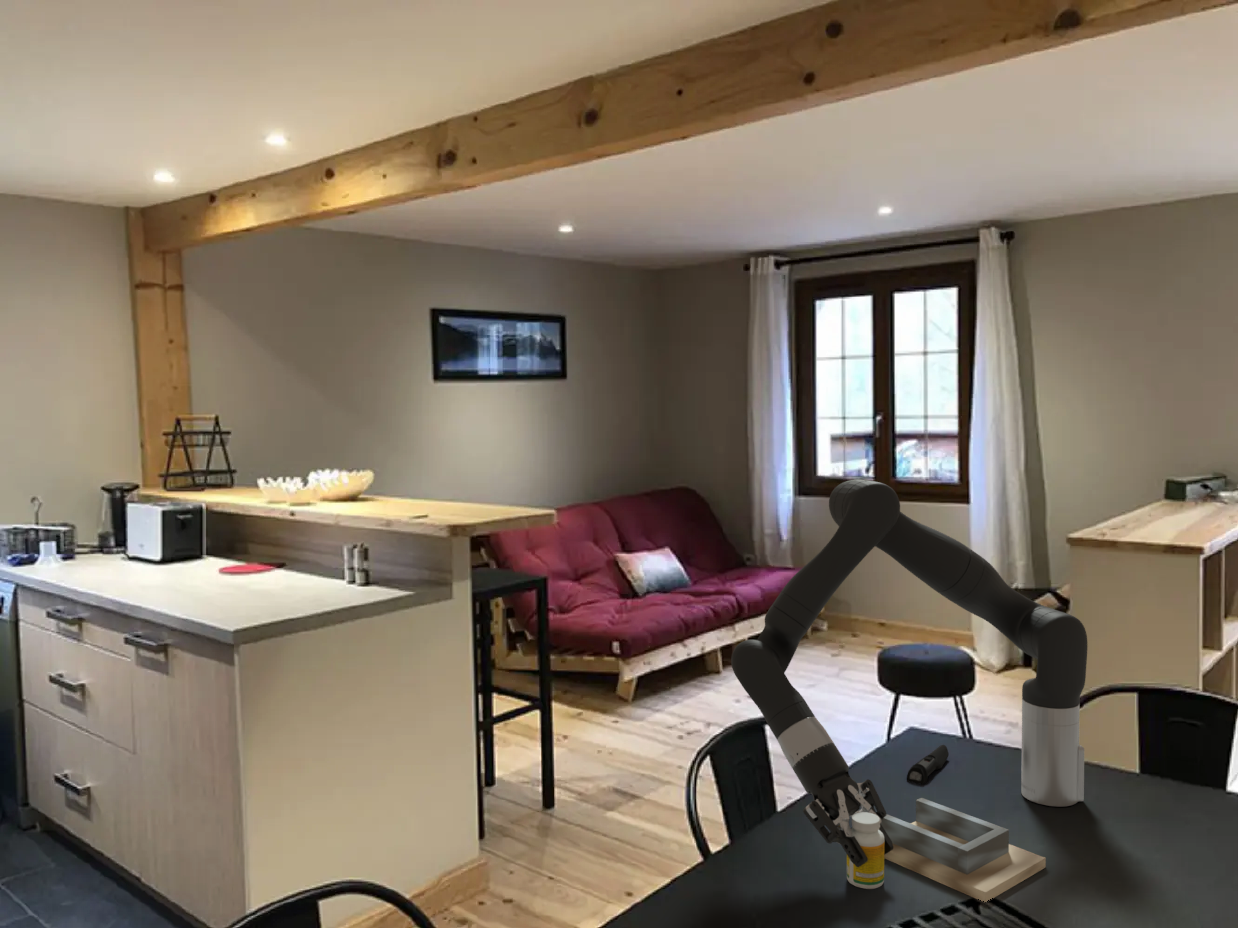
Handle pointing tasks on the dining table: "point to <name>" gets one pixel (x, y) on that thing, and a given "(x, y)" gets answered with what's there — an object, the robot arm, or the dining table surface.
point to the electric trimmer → (927, 765)
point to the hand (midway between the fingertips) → (875, 857)
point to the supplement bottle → (867, 851)
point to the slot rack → (959, 851)
